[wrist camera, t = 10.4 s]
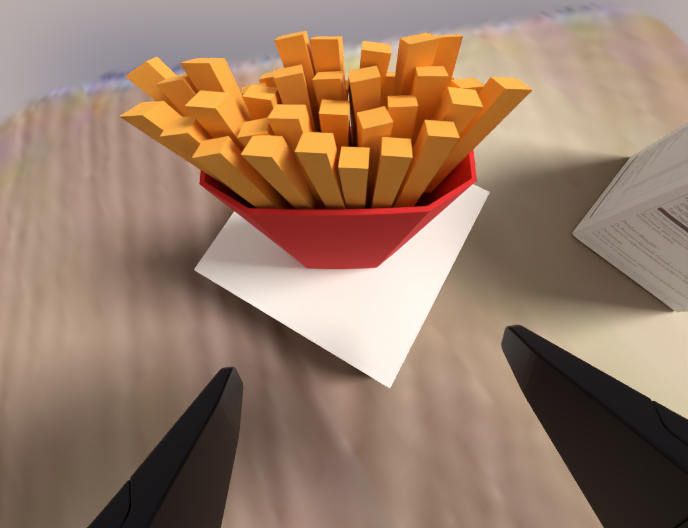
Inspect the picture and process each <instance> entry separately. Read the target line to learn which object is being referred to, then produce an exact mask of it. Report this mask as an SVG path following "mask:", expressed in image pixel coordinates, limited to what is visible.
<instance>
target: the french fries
mask: <svg viewBox="0 0 688 528" xmlns="http://www.w3.org/2000/svg"><path fill="white" fill-rule="evenodd" d="M462 38H463V36H461V35H457V34H454V35H438V36H434V35H432V34H430V33H428V32H427V33H423V34H418V35H413V36H408V37H403V38H400V42H399V50H398V58H397V65H396V73H395V72H387V70H388V65H389V61H390V56H391V47H390V44H382V43H374V42H367V41H363V44H362V51H361V61H360V69H357V70H352V71H349V76H348V80H345V71H344V56H343V41H342V37H314V38H311V39H310V44H309V40H308V36H307V32H306V31H303V32H298V33H293V34H288V35H284V36H279V37H278V38H277V39H275V40H274V41H275V44H276V46H277V49H278V52H279V54H280V57H281V60H282V62H283V65H284V68H282V69H277V70H275V72H271V73H265V74H263V75H262V76H261V77H260V79H259V81H260V84H254V85H248V86H243V87H242V89H241V91H240V90H239V88H238V86H237V84H236V81H235V79H234V77H233V75H232V73H231V71H230V69H229V67H228V64H227V62H226V60H225V58H196V59H192V60H189V61H185V62H182V63H180V64H181V65H182V67H183V68H184V70H185V72H186V73H187V74H182V75H177V76H176V75H175V74H174V73H173V72H172V71H171V70H170V69H169V68H168V67H167V66H166V65H165V64H164V63H163V62H162V61H161V60H160V59H159V58H158V57H155V58H153V59H151V60H148V61H146V62H145V63H143V64H142V65H141V66H139V67H138V68H136V69H135V70H133V71H132V72H131V73H129V74H128V75H126V76H125V77H126V78H128V79H129V80H130V81H131V82H133V83H134V84H135V85H136V86H138V87H139V88H140V89H141V90H143V91H144V92H145V93H146V94H148V95H149V96H150V97H152V98H153V99H154V100H155V102H141V103H140V104H138V105H137V106H135V107H133V108H132V109H130V110H129V111H127V112H126V113H124V114H122V115H121V116H119V117H121V118H122V119H124V120H125V121H127V122H128V123H130V124H132V125H133V126H135V127H136V128H138V129H139V130H141V131H142V132H144V133H145V134H147V135H148V136H150V137H151V138H153V139H154V140H156V141H157V142H159V143H160V144H162V145H164V146H165V147H167V148H168V149H170V150H171V151H173V152H174V153H176V154H177V155H179V156H180V157H182V158H183V159H185V160H186V161H188V162H189V163H191V164H193V165H194V166H196V167H197V168H199V169H200V170H201V173H200V185H201V186H203V187H204V188H205V189H206V190H208V191H209V192H210V193H212V194H213V195H214V196H215V197H217V198H218V199H219V200H221V201H222V202H223V203H224V204H226V205H227V206H228V207H230V208H231V209H232V210H233V211H235V212H236V213H237V214H238V215H240V216H241V217H242V218H244V219H245V220H246V221H247V222H249V223H250V224H251V225H253V226H254V227H255V228H256V229H258V230H259V231H260V232H262V233H263V234H264V235H265V236H267V237H268V238H269V239H271V240H272V241H273V242H274V243H276V244H277V245H278V246H280V247H281V248H282V249H283V250H285V251H286V252H287V253H289V254H290V255H291V256H292V257H294V258H295V259H296V260H297V261H299V262H300V263H301V264H302V265H304V266H305V267H306V268H310V269H363V268H377V267H378V266H379V265H381V264H382V263H383V262H384V261H386V260H387V259H388V258H389V257H390V256H392V255H393V254H394V253H395V252H396V251H398V250H399V249H400V248H401V247H402V246H403V245H404V244H406V243H407V242H408V241H409V240H410V239H411V238H412V237H414V236H415V235H416V234H417V233H418V232H419V231H420V230H421V229H423V228H424V227H425V226H426V225H427V224H428V223H429V222H431V221H432V220H433V219H434V218H435V217H436V216H437V215H438V214H440V213H441V212H442V211H443V210H444V209H445V208H446V207H448V206H449V205H450V204H451V203H452V202H453V201H454V200H456V199H457V198H458V197H459V196H460V195H461V194H462V193H463V192H465V191H466V190H467V189H468V188H469V187H470V186H471V185H473V184H474V183H475V182H476V181H477V180H476V170H475V161H474V151H473V149H474V148H475V147H476V146H477V145H478V144H479V143H480V142H481V141H482V140H483V139H484V138H485V137H486V136H487V135H488V134H489V133H490V132H491V131H492V130H493V129H494V128H495V127H496V126H497V125H498V124H499V123H500V122H501V121H502V120H503V119H504V118H505V117H506V116H507V115H508V114H509V113H510V112H511V111H512V110H513V109H514V108H515V107H516V106H517V105H518V104H519V103H520V102H521V101H522V100H523V99H524V98H525V97H526V96H527V95H528V94H529V93H530V92H531V91H532V89H531V88H530V87H528V86H527V85H525V84H524V83H523V82H521V81H520V80H518V79H517V78H502V77H491V78H490V79H489V80H488V82H487V83H486V84H485V85H484V84H482V83H481V82H480V81H478V80H477V79H475V78H467V79H455V80H454V78H453V77H452V75H453V71H454V67H455V64H456V60H457V56H458V53H459V49H460V45H461V42H462ZM310 45H311V48H310ZM311 51H312V52H311ZM348 94H349V101H348ZM349 103H350V118H351V126H350V120H349Z"/></svg>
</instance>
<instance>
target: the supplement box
mask: <svg viewBox="0 0 688 528" xmlns="http://www.w3.org/2000/svg"><path fill="white" fill-rule="evenodd" d="M572 235H573V236H574V237H576V238H577V239H578V240H580V241H581V242H582V243H584V244H585V245H586V246H588V247H589V248H591V249H592V250H593V251H595V252H596V253H597V254H599V255H600V256H601V257H603V258H604V259H605V260H607V261H608V262H609V263H611V264H612V265H613V266H615V267H616V268H618V269H619V270H620V271H622V272H623V273H624V274H626V275H627V276H628V277H630V278H631V279H632V280H634V281H635V282H637V283H638V284H639V285H641V286H642V287H643V288H645V289H646V290H647V291H649V292H650V293H651V294H653V295H654V296H655V297H657V298H658V299H659V300H661V301H662V302H663V303H665V304H666V305H667V306H669V307H670V308H671V309H673V310H674V311H676V312H685V311H688V123H686V124H684V125H683V126H681V127H679V128H678V129H676V130H675V131H673V132H671V133H670V134H668V135H666V136H665V137H663V138H662V139H660V140H658V141H657V142H655V143H653V144H651V145H650V146H648V147H646V148H645V149H643V150H641V151H640V152H638V153H636V154H635V155H633V156H632V157H630V158H629V160H628V161H627V162H626V163H625V165H624V166H623V167H622V168H621V170H620V171H619V172H618V174H617V175H616V176H615V177H614V179H613V180H612V181H611V183H610V184H609V185H608V187H607V188H606V189H605V191H604V192H603V193H602V195H601V196H600V197H599V199H598V200H597V201H596V202H595V204H594V205H593V206H592V208H591V209H590V210H589V212H588V213H587V214H586V216H585V217H584V218H583V219H582V221H581V222H580V223H579V225H578V226H577V227H576V229H575V230H574V231H573V233H572Z"/></svg>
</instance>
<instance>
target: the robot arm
mask: <svg viewBox="0 0 688 528" xmlns="http://www.w3.org/2000/svg"><path fill="white" fill-rule="evenodd" d="M501 346H502V350H503V352H504V354H505V356H506V359H507V361H508V363H509V365H510V367H511V369H512V371H513V373H514V376H515V378H516V380H517V382H518V384H519V386H520V388H521V390H522V392H523V394H524V396H525V397H526V399H527V401H528V403H529V404H530V406H531V408H532V409H533V411H534V413H535V414H536V416H537V418H538V419H539V421H540V423H541V424H542V426H543V428H544V429H545V431H546V433H547V434H548V436H549V438H550V439H551V441H552V443H553V444H554V446H555V447H556V449H557V451H558V452H559V454H560V456H561V457H562V459H563V461H564V462H565V464H566V466H567V467H568V469H569V471H570V472H571V474H572V476H573V477H574V479H575V481H576V482H577V484H578V486H579V487H580V489H581V491H582V492H583V494H584V496H585V497H586V499H587V501H588V502H589V504H590V506H591V507H592V509H593V511H594V512H595V514H596V516H597V517H598V519H599V521H600V522H601V524H602V526H603V527H604V528H688V419H686V418H684V417H682V416H681V415H679V414H677V413H675V412H673V411H671V410H670V409H668V408H666V407H664V406H663V405H661V404H659V403H657V402H656V401H652V400H651V399H650V398H648V397H647V396H645V395H643V394H641V393H639V392H638V391H636V390H634V389H632V388H631V387H629V386H627V385H625V384H624V383H622V382H620V381H618V380H617V379H615V378H613V377H611V376H609V375H608V374H606V373H604V372H602V371H601V370H599V369H597V368H595V367H594V366H592V365H590V364H588V363H587V362H585V361H583V360H581V359H579V358H578V357H576V356H574V355H572V354H571V353H569V352H567V351H565V350H564V349H562V348H560V347H558V346H557V345H555V344H553V343H551V342H549V341H548V340H546V339H544V338H542V337H541V336H539V335H537V334H535V333H534V332H532V331H530V330H528V329H527V328H525V327H523V326H521V325H512V326H507V327H506V328H505V331H504V335H503V339H502V343H501ZM242 395H243V383H242V380H241V378H240V376H239V374H238V372H237V370H236V368H235V367H226V368H222V369H221V370H219V372H218V373H217V374H216V375H215V376H214V378H213V379H212V380H211V381H210V382H209V384H208V385H207V386H206V387H205V388H204V390H203V391H202V392H201V393H200V394H199V396H198V397H197V398H196V399H195V400H194V402H193V403H192V404H191V405H190V406H189V408H188V409H187V410H186V411H185V412H184V414H183V415H182V416H181V417H180V418H179V420H178V421H177V422H176V423H175V424H174V426H173V427H172V428H171V429H170V430H169V432H168V433H167V434H166V435H165V436H164V438H163V439H162V440H161V441H160V442H159V444H158V445H157V446H156V447H155V448H154V450H153V451H152V452H151V453H150V454H149V456H148V457H147V458H146V459H145V460H144V462H143V463H142V464H141V465H140V466H139V468H138V469H137V470H136V471H135V472H134V474H133V475H132V476H131V477H130V480H128V481H127V482H126V483H125V484H124V486H123V487H122V488H121V489H120V490H119V492H118V493H117V494H116V495H115V496H114V497H113V499H112V500H111V501H110V502H109V503H108V504H107V506H106V507H105V508H104V509H103V510H102V511H101V513H100V514H99V515H98V516H97V517H96V518H95V519H94V521H93V522H92V523H91V524H90V525H89V526H88V527H87V528H221V524H222V519H223V514H224V509H225V504H226V499H227V494H228V489H229V484H230V479H231V474H232V469H233V464H234V459H235V453H236V448H237V443H238V437H239V429H240V418H241V407H242Z"/></svg>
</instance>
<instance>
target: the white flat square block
mask: <svg viewBox="0 0 688 528" xmlns="http://www.w3.org/2000/svg"><path fill="white" fill-rule="evenodd" d="M350 126H351V124H350ZM489 193H490V192H489V191H486V190H484V189H482V188H480V187H478V186H476V185H474V184H473V185H471V186H470V187H469V188H468V189H467V190H466V191H465V192H463V193H462V194H461V195H460V196H459V197H458V198H457V199H456V200H454V201H453V202H452V203H451V204H450V205H449V206H448V207H446V208H445V209H444V210H443V211H442V212H441V213H440V214H438V215H437V216H436V217H435V218H434V219H433V220H432V221H431V222H429V223H428V224H427V225H426V226H425V227H424V228H423V229H421V230H420V231H419V232H418V233H417V234H416V235H415V236H414V237H412V238H411V239H410V240H409V241H408V242H407V243H406V244H404V245H403V246H402V247H401V248H400V249H399V250H398V251H396V252H395V253H394V254H393V255H392V256H390V257H389V258H388V259H387V260H386V261H384V262H383V263H382V264H381V265H379V266H378V267H377V268H363V269H310V268H306V267H305V266H304V265H302V264H301V263H300V262H299V261H297V260H296V259H295V258H294V257H292V256H291V255H290V254H289V253H287V252H286V251H285V250H283V249H282V248H281V247H280V246H278V245H277V244H276V243H274V242H273V241H272V240H271V239H269V238H268V237H267V236H265V235H264V234H263V233H262V232H260V231H259V230H258V229H256V228H255V227H254V226H253V225H251V224H250V223H249V222H247V221H246V220H245V219H244V218H242V217H241V216H240V215H238V214H237V213H236V212H235V211H234V212H233V214H232V215H231V217H230V218H229V220H228V221H227V223H226V224H225V225H224V227H223V228H222V230H221V231H220V233H219V234H218V236H217V237H216V238H215V240H214V241H213V243H212V244H211V246H210V247H209V249H208V250H207V252H206V253H205V254H204V256H203V257H202V259H201V260H200V262H199V263H198V265H197V266H196V267H195V269H194V270H195V271H197V272H198V273H200V274H202V275H203V276H205V277H207V278H208V279H210V280H211V281H213V282H215V283H216V284H218V285H220V286H221V287H223V288H225V289H226V290H228V291H230V292H231V293H233V294H235V295H236V296H238V297H240V298H241V299H243V300H245V301H246V302H248V303H250V304H251V305H253V306H255V307H256V308H258V309H259V310H261V311H263V312H264V313H266V314H268V315H269V316H271V317H273V318H274V319H276V320H278V321H279V322H281V323H283V324H284V325H286V326H288V327H289V328H291V329H293V330H294V331H296V332H298V333H299V334H301V335H302V336H304V337H306V338H307V339H309V340H311V341H312V342H314V343H316V344H317V345H319V346H321V347H322V348H324V349H326V350H327V351H329V352H331V353H332V354H334V355H336V356H337V357H339V358H341V359H342V360H344V361H346V362H347V363H349V364H350V365H352V366H354V367H355V368H357V369H359V370H360V371H362V372H364V373H365V374H367V375H369V376H370V377H372V378H374V379H375V380H377V381H379V382H380V383H382V384H384V385H385V386H387V387H389V388H390V387H391V385H392V383H393V381H394V379H395V377H396V375H397V373H398V371H399V369H400V367H401V366H402V364H403V362H404V360H405V358H406V356H407V354H408V352H409V350H410V348H411V346H412V344H413V342H414V340H415V338H416V336H417V334H418V332H419V330H420V328H421V326H422V324H423V322H424V320H425V318H426V316H427V315H428V313H429V311H430V309H431V307H432V305H433V303H434V301H435V299H436V297H437V295H438V293H439V291H440V289H441V287H442V285H443V283H444V281H445V279H446V277H447V275H448V273H449V271H450V269H451V267H452V265H453V263H454V262H455V260H456V258H457V256H458V254H459V252H460V250H461V248H462V246H463V244H464V242H465V240H466V238H467V236H468V234H469V232H470V230H471V228H472V226H473V224H474V222H475V220H476V218H477V216H478V214H479V212H480V211H481V209H482V207H483V205H484V203H485V201H486V199H487V197H488V195H489Z"/></svg>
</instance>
